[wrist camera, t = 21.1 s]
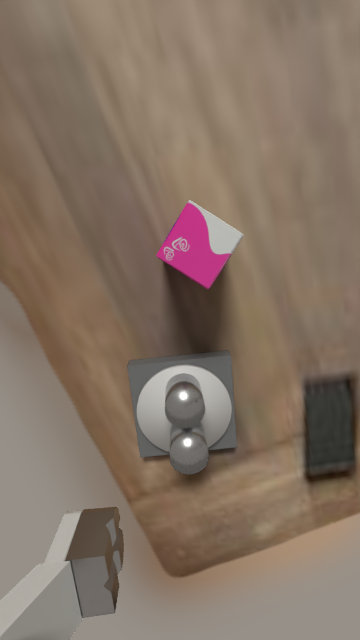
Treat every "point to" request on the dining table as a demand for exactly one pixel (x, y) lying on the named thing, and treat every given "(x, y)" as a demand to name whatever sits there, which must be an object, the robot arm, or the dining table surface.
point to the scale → (150, 399)
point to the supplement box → (199, 245)
